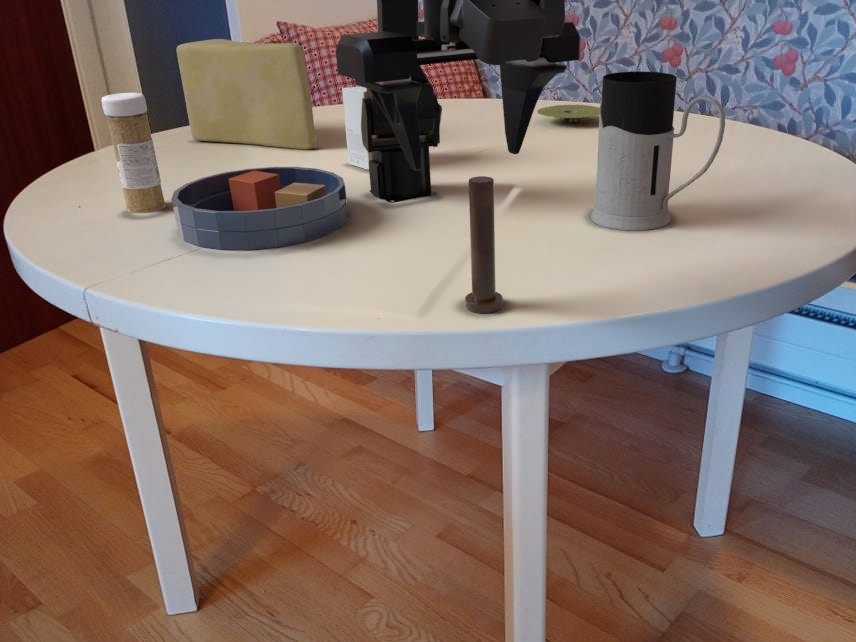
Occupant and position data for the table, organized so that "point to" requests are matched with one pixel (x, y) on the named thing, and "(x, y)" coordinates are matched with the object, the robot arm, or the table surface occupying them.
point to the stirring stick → (482, 247)
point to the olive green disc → (569, 111)
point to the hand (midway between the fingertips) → (466, 161)
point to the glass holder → (639, 149)
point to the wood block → (299, 194)
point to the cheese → (247, 93)
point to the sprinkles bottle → (134, 151)
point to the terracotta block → (254, 191)
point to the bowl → (257, 212)
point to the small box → (355, 126)
